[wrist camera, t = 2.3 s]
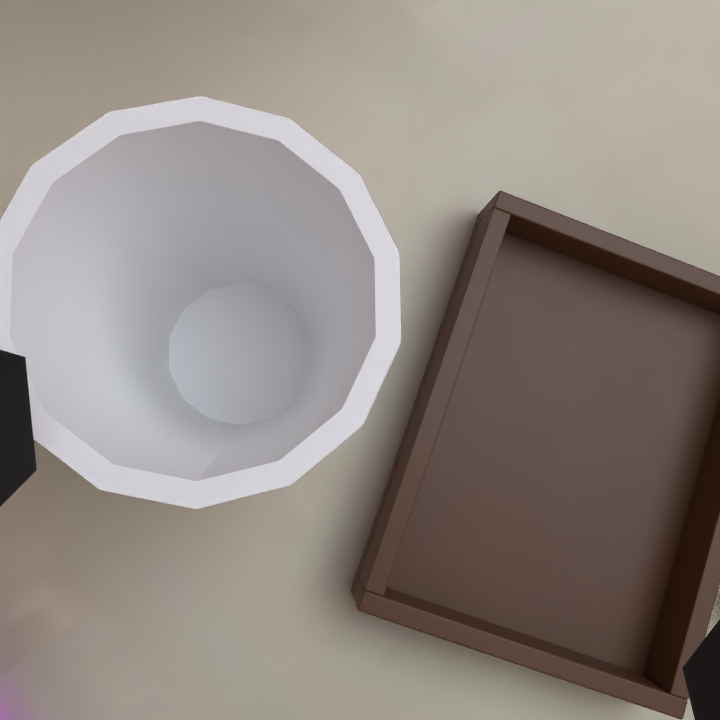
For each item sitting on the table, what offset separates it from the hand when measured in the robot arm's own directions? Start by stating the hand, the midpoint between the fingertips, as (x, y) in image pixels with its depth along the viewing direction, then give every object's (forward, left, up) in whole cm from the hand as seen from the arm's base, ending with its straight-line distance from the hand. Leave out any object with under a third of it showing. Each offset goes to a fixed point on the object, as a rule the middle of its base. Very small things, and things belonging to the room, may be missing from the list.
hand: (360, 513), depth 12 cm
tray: (-4, +10, -16) cm, 19 cm away
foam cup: (-3, -5, -16) cm, 17 cm away
